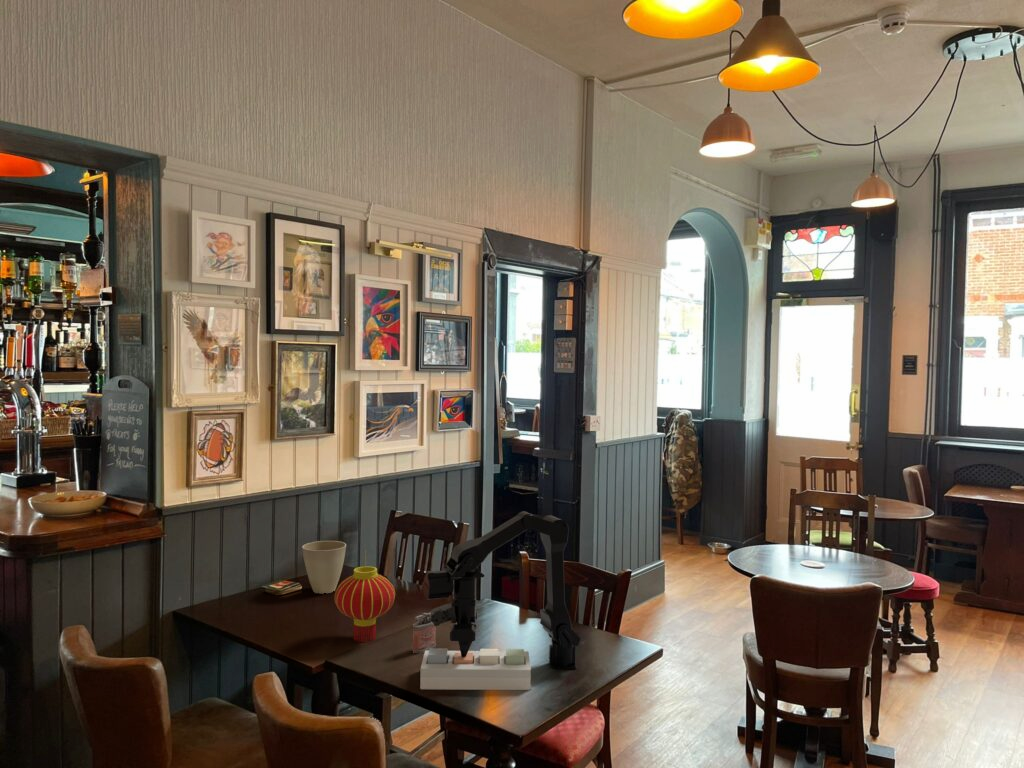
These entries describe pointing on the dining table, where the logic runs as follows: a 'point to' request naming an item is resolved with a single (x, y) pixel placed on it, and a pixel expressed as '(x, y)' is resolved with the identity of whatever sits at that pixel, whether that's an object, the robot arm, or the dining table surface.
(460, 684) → the keypad
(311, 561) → the plant pot
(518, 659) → the key sage
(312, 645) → the dining table surface
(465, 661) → the key terracotta
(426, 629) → the lighter
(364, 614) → the lantern
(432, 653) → the key slate
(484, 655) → the key cream
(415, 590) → the dining table surface
